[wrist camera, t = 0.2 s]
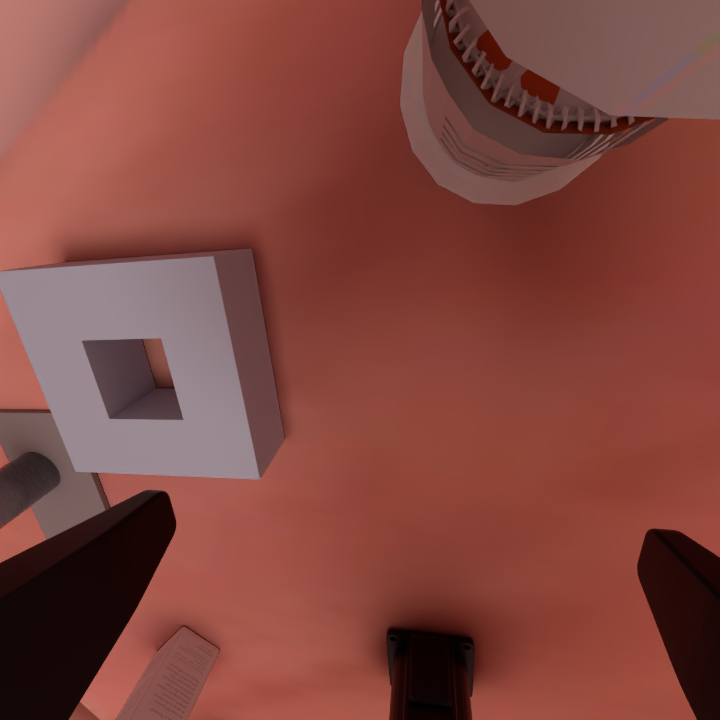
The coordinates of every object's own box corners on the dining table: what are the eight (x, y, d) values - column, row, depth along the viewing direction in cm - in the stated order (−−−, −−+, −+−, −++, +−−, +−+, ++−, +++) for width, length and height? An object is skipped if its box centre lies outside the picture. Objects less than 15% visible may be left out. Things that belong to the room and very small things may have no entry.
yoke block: (284, 439, 25) (260, 479, 21) (123, 436, 27) (75, 471, 23) (251, 248, 20) (213, 256, 17) (63, 262, 23) (-7, 271, 19)
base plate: (122, 540, 31) (119, 545, 30) (50, 535, 32) (46, 539, 32) (72, 410, 27) (67, 413, 26) (-9, 409, 28) (-15, 412, 28)
